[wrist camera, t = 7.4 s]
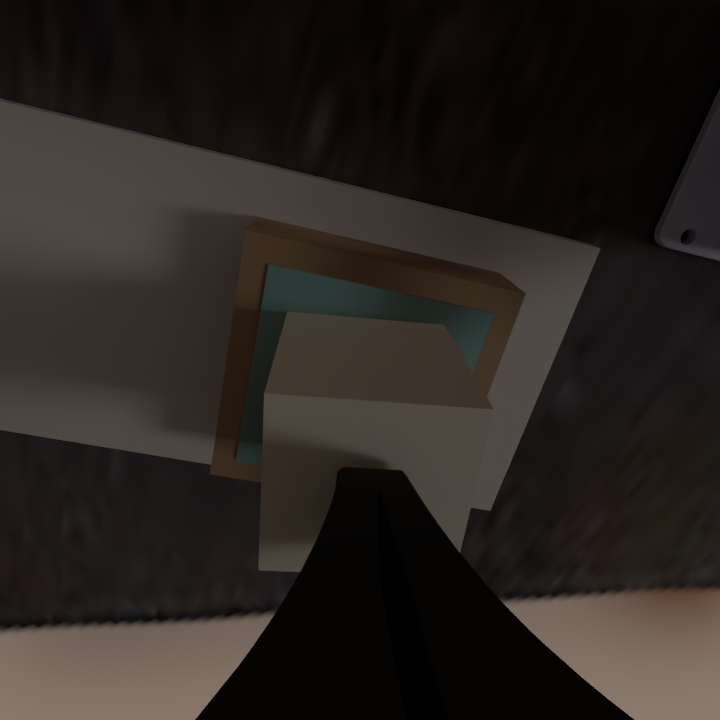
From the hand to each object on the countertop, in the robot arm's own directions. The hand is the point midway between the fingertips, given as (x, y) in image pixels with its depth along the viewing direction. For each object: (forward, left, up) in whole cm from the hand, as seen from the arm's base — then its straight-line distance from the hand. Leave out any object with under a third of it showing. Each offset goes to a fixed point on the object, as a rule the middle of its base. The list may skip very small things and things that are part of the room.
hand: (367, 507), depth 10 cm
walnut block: (0, 0, -8) cm, 8 cm away
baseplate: (+3, 0, -9) cm, 9 cm away
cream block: (0, 0, -5) cm, 5 cm away
